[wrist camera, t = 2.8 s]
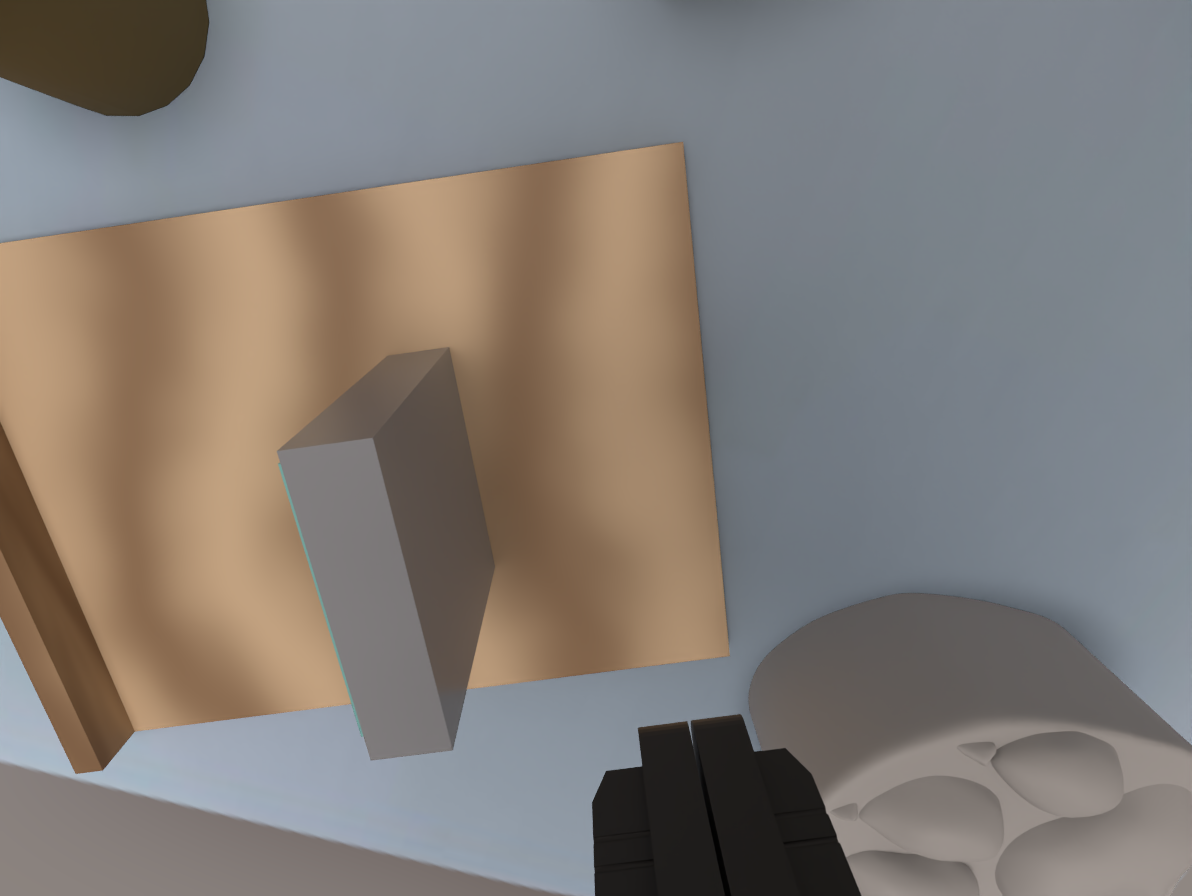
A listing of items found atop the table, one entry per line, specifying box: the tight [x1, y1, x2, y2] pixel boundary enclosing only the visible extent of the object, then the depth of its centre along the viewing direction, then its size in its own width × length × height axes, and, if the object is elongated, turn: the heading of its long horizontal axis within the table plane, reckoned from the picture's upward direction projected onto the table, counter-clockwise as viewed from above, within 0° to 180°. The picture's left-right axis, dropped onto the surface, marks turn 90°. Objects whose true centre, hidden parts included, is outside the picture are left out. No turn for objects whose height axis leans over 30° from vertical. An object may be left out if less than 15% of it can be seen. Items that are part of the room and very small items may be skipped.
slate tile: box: [277, 347, 495, 760], centre depth 20 cm, size 2×8×9 cm, turn 8°
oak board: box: [0, 142, 730, 774], centre depth 24 cm, size 24×18×3 cm
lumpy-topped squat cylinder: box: [749, 593, 1192, 896], centre depth 26 cm, size 10×13×9 cm
